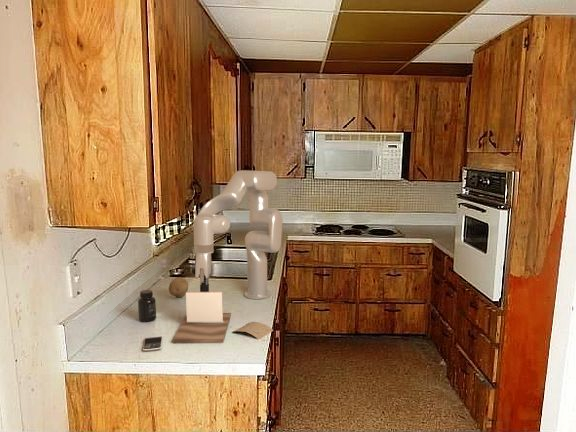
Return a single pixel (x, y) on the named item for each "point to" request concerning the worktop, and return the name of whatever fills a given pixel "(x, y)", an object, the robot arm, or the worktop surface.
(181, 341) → the walnut board
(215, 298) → the ceramic tile
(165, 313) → the worktop surface
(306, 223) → the worktop surface
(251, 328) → the clay tablet
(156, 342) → the cell phone
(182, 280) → the natural sponge
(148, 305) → the supplement bottle
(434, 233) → the worktop surface
